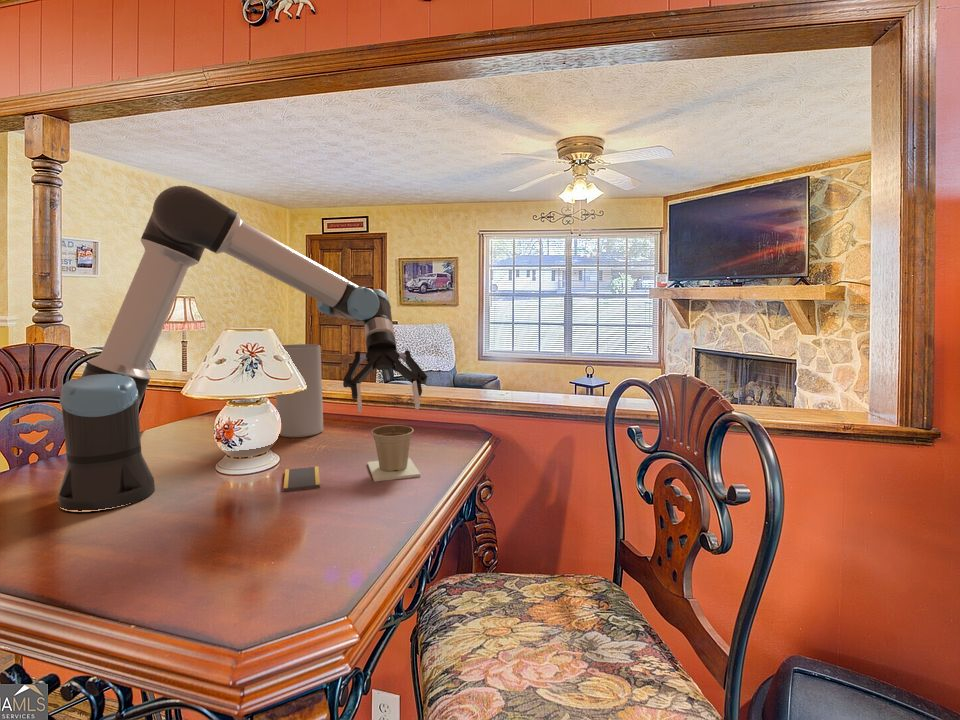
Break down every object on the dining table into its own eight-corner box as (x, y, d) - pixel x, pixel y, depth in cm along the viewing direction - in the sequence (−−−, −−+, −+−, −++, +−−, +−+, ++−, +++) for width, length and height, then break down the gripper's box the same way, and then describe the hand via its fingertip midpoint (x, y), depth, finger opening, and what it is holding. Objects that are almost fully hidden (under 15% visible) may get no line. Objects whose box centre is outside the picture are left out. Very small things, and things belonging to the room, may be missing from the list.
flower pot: (410, 474, 112) (409, 436, 111) (367, 474, 113) (366, 435, 112) (417, 461, 122) (416, 425, 120) (377, 460, 122) (376, 424, 121)
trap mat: (283, 491, 104) (283, 488, 104) (285, 472, 115) (285, 469, 115) (319, 487, 106) (319, 484, 106) (318, 469, 118) (318, 466, 117)
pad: (374, 481, 110) (374, 478, 110) (367, 464, 121) (367, 461, 121) (420, 476, 113) (420, 473, 113) (409, 460, 124) (409, 457, 124)
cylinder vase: (267, 436, 145) (263, 347, 142) (295, 425, 157) (292, 343, 154) (306, 440, 141) (302, 349, 138) (331, 428, 153) (329, 345, 150)
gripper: (425, 347, 141) (438, 413, 129) (330, 349, 133) (334, 419, 121) (429, 329, 136) (443, 396, 123) (330, 330, 128) (335, 401, 115)
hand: (389, 407), depth 122 cm, fingers open, 13 cm apart
